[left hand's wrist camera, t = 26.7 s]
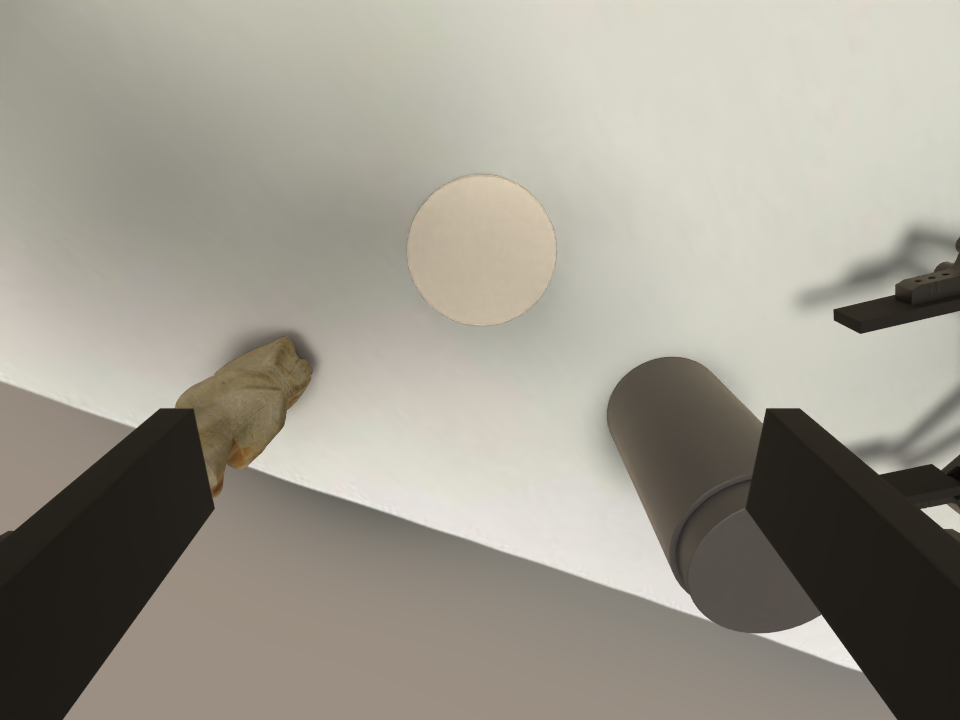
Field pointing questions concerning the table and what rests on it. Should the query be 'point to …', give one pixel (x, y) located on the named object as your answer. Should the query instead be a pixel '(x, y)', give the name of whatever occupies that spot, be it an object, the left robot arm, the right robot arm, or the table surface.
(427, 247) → the lid
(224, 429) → the sculpture
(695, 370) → the jar
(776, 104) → the table surface
